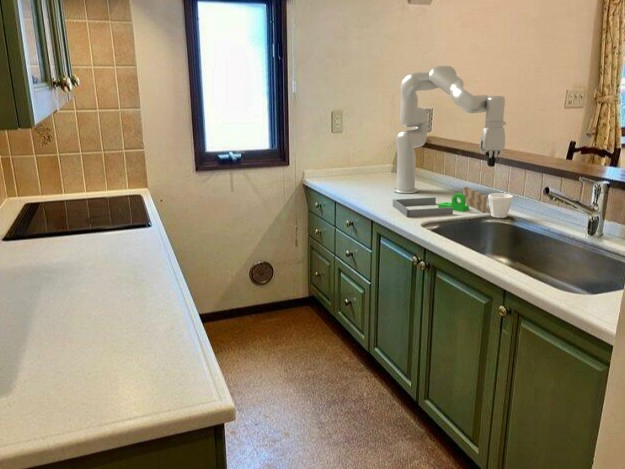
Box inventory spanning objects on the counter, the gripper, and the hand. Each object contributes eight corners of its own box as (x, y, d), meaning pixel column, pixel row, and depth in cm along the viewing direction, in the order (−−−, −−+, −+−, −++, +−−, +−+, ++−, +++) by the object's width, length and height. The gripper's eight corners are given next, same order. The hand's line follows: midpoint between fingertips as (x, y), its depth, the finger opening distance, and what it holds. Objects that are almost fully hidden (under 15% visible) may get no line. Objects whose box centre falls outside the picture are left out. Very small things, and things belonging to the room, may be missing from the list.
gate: (462, 201, 252) (463, 187, 250) (465, 201, 252) (466, 186, 250) (482, 212, 232) (483, 196, 230) (485, 211, 232) (487, 196, 230)
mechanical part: (468, 209, 238) (469, 192, 236) (462, 212, 234) (463, 194, 231) (444, 205, 246) (445, 189, 243) (438, 208, 241) (439, 191, 239)
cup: (516, 217, 223) (518, 196, 220) (500, 221, 218) (502, 199, 215) (497, 212, 231) (499, 191, 229) (481, 216, 226) (483, 194, 224)
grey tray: (392, 205, 247) (392, 199, 246) (434, 203, 250) (435, 197, 249) (407, 217, 227) (407, 210, 226) (452, 214, 230) (453, 207, 229)
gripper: (505, 123, 237) (502, 164, 242) (474, 124, 235) (471, 165, 240) (514, 124, 230) (510, 166, 235) (481, 126, 227) (479, 168, 233)
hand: (491, 166), depth 237 cm, fingers closed
